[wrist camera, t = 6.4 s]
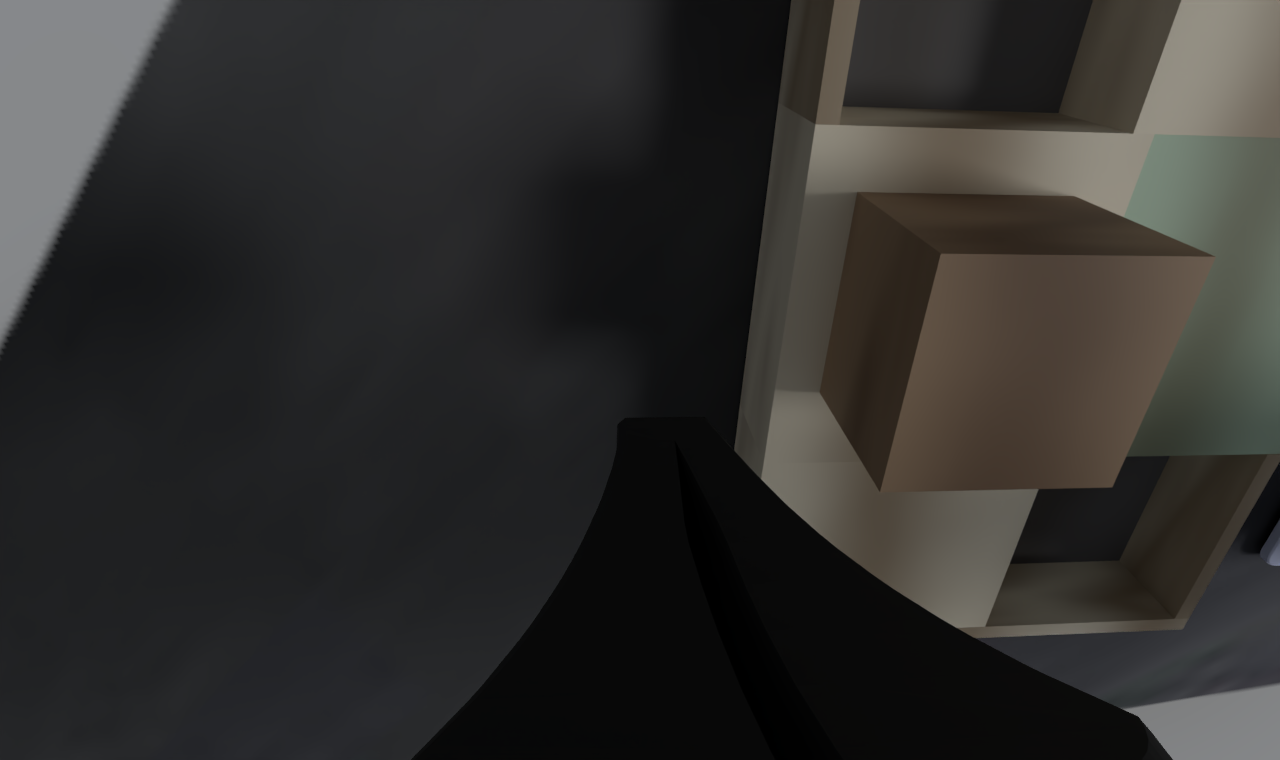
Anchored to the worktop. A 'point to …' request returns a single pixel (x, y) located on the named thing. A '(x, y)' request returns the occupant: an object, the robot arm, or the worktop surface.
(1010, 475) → the walnut block
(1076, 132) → the trap board
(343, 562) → the worktop surface
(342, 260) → the worktop surface
